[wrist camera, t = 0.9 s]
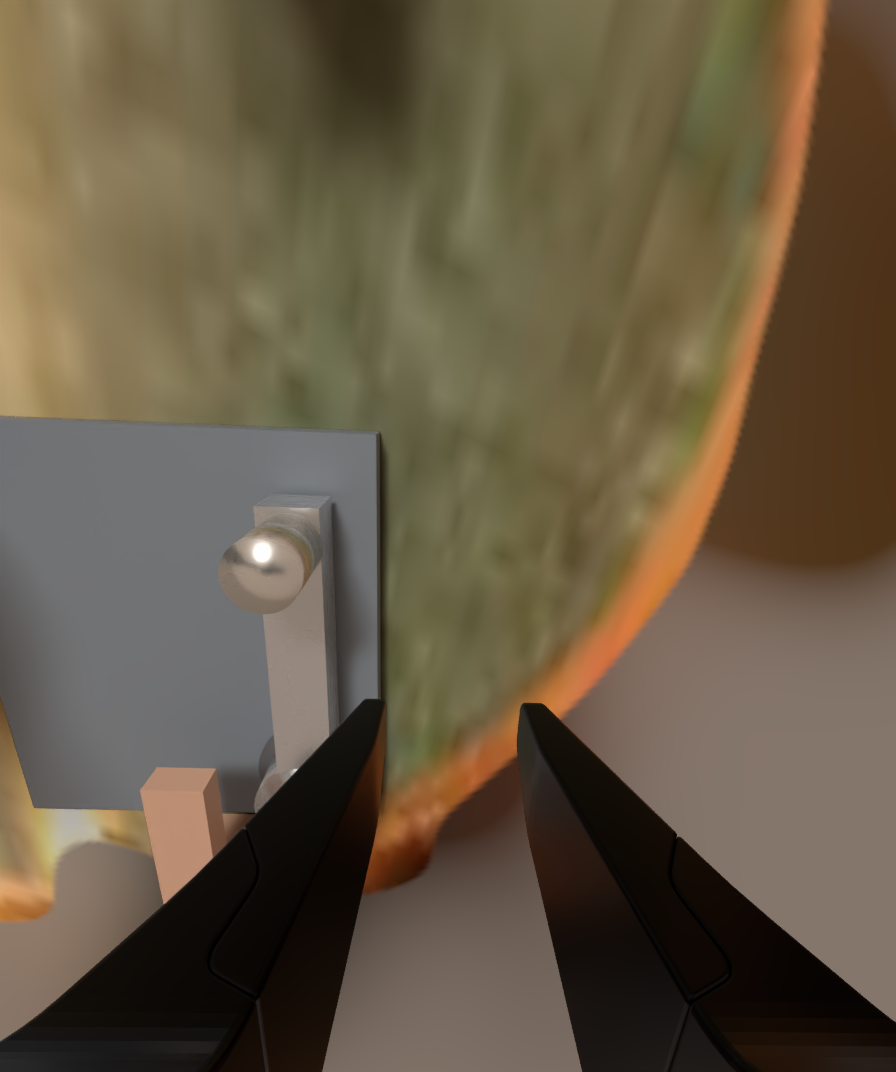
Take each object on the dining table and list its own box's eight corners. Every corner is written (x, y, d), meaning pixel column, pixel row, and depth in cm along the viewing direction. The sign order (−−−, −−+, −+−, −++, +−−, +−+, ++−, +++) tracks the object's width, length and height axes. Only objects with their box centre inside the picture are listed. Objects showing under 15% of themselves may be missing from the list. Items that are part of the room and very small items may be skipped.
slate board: (51, 789, 26) (30, 811, 24) (-55, 413, 20) (-91, 415, 18) (381, 796, 26) (377, 818, 25) (379, 431, 20) (375, 435, 19)
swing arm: (365, 814, 25) (347, 917, 20) (273, 812, 24) (232, 916, 20) (360, 497, 19) (333, 535, 15) (242, 492, 19) (176, 529, 14)
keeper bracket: (224, 839, 27) (173, 949, 22) (204, 701, 24) (139, 790, 19) (268, 840, 27) (227, 950, 22) (253, 703, 24) (202, 791, 19)
